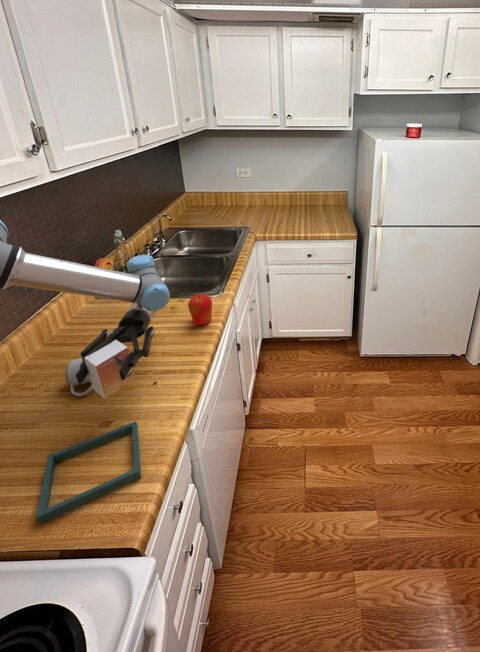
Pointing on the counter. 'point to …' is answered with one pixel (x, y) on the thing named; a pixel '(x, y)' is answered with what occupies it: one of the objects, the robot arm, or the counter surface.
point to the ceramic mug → (71, 376)
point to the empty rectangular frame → (96, 492)
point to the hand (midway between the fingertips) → (100, 377)
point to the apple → (200, 309)
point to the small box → (108, 368)
